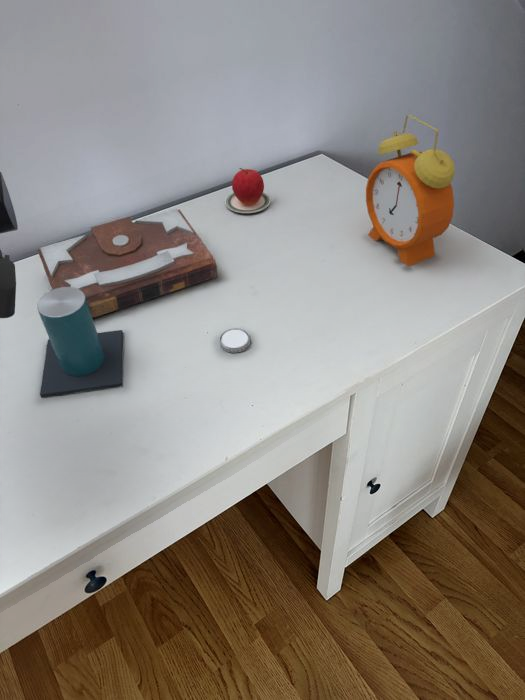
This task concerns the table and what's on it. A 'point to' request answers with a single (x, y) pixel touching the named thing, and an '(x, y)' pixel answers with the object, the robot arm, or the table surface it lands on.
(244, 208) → the apple
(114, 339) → the mat
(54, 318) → the can
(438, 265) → the table surface
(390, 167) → the alarm clock
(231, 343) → the bottle cap
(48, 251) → the book
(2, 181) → the robot arm
